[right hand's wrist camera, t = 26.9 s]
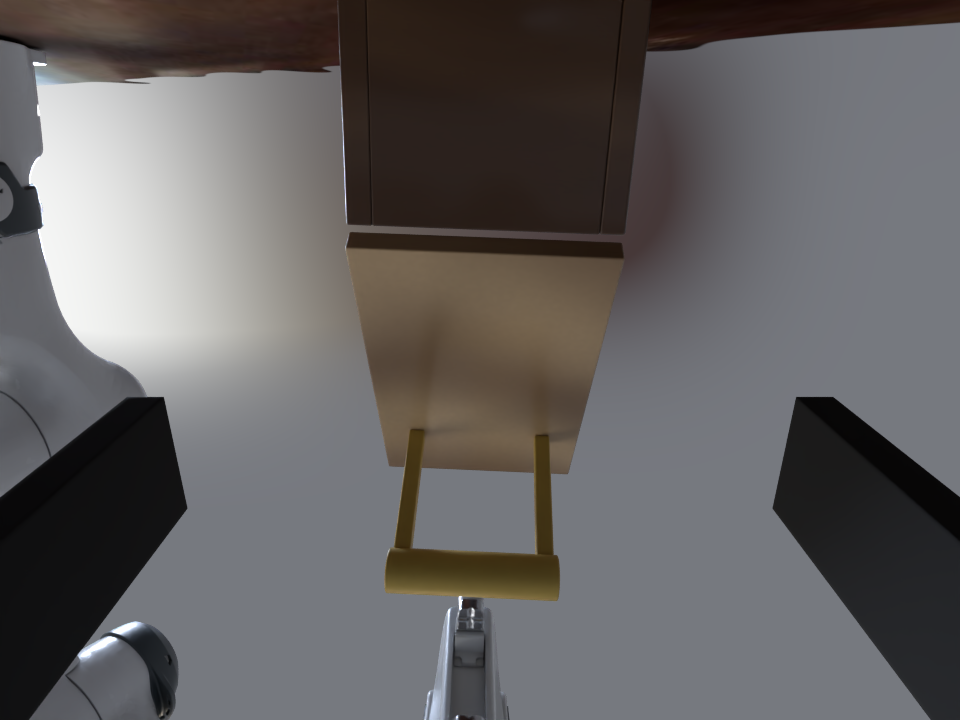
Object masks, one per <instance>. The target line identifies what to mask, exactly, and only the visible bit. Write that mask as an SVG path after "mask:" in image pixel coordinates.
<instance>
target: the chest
mask: <svg viewBox="0 0 960 720" xmlns="http://www.w3.org/2000/svg"><path fill="white" fill-rule="evenodd" d="M651 6H652V0H338V24H339V49H340V74H341V99H342V124H343V149H344V173H345V199H346V223H347V224H348V225H369V226H371V225H374V226H395V227H421V228H447V229H472V230H498V231H523V232H550V233H575V234H599V233H600V234H604V235H624V234H625V232H626V223H627V214H628V205H629V197H630V188H631V180H632V171H633V162H634V154H635V145H636V136H637V128H638V119H639V110H640V102H641V93H642V84H643V76H644V67H645V58H646V50H647V41H648V32H649V24H650V15H651Z"/></svg>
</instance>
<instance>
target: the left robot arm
mask: <svg viewBox="0 0 960 720" xmlns="http://www.w3.org/2000/svg"><path fill="white" fill-rule="evenodd" d="M34 65H46V52H42V51H38V50H33V49H29V48H27V47H26V46H24V45H21V44H17V43H13V42H9V41H4V40H0V497H1V496H2V495H4V494H5V493H6V492H7V491H9V490H10V489H11V488H12V487H14V486H15V485H16V484H17V483H19V482H20V481H21V480H23V479H24V478H25V477H26V476H28V475H29V474H30V473H31V472H33V471H34V470H35V469H36V468H38V467H39V466H40V465H42V464H43V463H44V462H45V461H47V460H48V459H49V458H50V457H52V456H53V455H54V454H55V453H57V452H58V451H59V450H60V449H62V448H63V447H64V446H66V445H67V444H68V443H69V442H71V441H72V440H73V439H74V438H76V437H77V436H78V435H79V434H81V433H82V432H83V431H85V430H86V429H87V428H88V427H90V426H91V425H92V424H93V423H95V422H96V421H97V420H98V419H100V418H101V417H102V416H104V415H105V414H106V413H107V412H109V411H110V410H111V409H112V408H114V407H115V406H116V405H117V404H119V403H120V402H121V401H122V400H124V399H125V398H126V397H147V395H146V393H145V391H144V389H143V387H142V385H141V384H140V383H139V381H138V380H137V379H136V378H135V377H134V376H133V375H132V374H131V373H130V372H128V371H127V370H126V369H124V368H123V367H121V366H119V365H117V364H115V363H113V362H110V361H107V360H105V359H103V358H100V357H98V356H97V355H95V354H94V353H92V352H91V351H90V350H88V349H87V348H86V347H85V346H84V345H83V344H82V343H81V342H80V341H79V340H78V339H77V337H76V336H75V335H74V334H73V332H72V331H71V329H70V328H69V326H68V325H67V323H66V321H65V319H64V318H63V316H62V313H61V311H60V309H59V306H58V303H57V300H56V297H55V293H54V290H53V287H52V283H51V279H50V276H49V272H48V268H47V264H46V260H45V256H44V251H43V247H42V242H41V238H40V233H39V229H41V227H42V226H43V218H42V212H43V209H42V204H41V203H40V201H39V196H38V191H37V187H36V186H35V185H33V184H31V183H30V176H31V172H32V168H33V166H34V164H35V162H36V161H37V160H38V159H39V158H40V156H41V155H42V152H43V143H42V133H41V123H40V113H39V105H38V96H37V87H36V79H35V70H34ZM177 685H178V661H177V657H176V654H175V651H174V649H173V647H172V646H171V644H170V642H169V641H168V640H167V638H166V637H165V636H164V635H163V634H162V633H161V632H160V631H159V630H158V629H156V628H155V627H153V626H151V625H148V624H145V623H141V622H131V623H128V624H125V625H122V626H120V627H118V628H115V629H113V630H111V631H109V632H107V633H105V634H104V635H103V636H102V637H101V638H100V640H98V641H96V642H94V643H93V644H91V645H89V646H87V647H86V648H84V649H82V650H81V651H80V653H79V654H78V655H77V657H76V658H75V659H74V661H73V662H72V663H71V665H70V666H69V667H68V669H67V670H66V671H65V673H64V674H63V675H62V677H61V678H60V679H59V681H58V682H57V683H56V685H55V686H54V687H53V689H52V690H51V691H50V693H49V694H48V695H47V697H46V698H45V699H44V701H43V702H42V703H41V705H40V706H39V707H38V709H37V710H36V711H35V713H34V714H33V715H32V717H31V718H30V719H29V720H168V719H169V718H170V716H171V715H172V713H173V711H174V709H175V692H176V689H177ZM423 720H509V713H508V706H507V701H506V695H505V693H504V692H501V691H500V682H499V672H498V660H497V647H496V635H495V625H494V618H493V614H492V612H491V610H490V609H488V608H486V607H484V598H480V597H459V598H458V606H456V607H451V608H450V609H449V610H448V612H447V614H446V617H445V622H444V627H443V633H442V639H441V646H440V653H439V660H438V667H437V673H436V680H435V686H434V690H430V691H429V692H428V695H427V704H426V705H425V711H424V717H423Z"/></svg>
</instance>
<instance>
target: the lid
mask: <svg viewBox="0 0 960 720" xmlns="http://www.w3.org/2000/svg"><path fill="white" fill-rule="evenodd" d="M345 249H346V254H347V260H348V264H349V269H350V274H351V279H352V284H353V289H354V294H355V299H356V304H357V309H358V314H359V319H360V324H361V329H362V334H363V339H364V344H365V349H366V354H367V359H368V364H369V369H370V374H371V379H372V384H373V389H374V394H375V399H376V404H377V409H378V414H379V418H380V424H381V428H382V433H383V438H384V443H385V448H386V453H387V458H388V463H389V466H395V467H405V468H404V476H403V483H402V491H401V498H400V505H399V513H398V520H397V528H396V535H395V543H394V548H390V549H389V551H388V554H387V559H386V566H385V591H386V593H396V594H417V595H439V596H459V597H480V598H501V599H523V600H544V601H557V600H558V597H559V588H560V568H559V559H558V556H557V555H554V553H553V525H552V498H551V473H552V474H568V472H569V469H570V465H571V461H572V457H573V453H574V450H575V446H576V442H577V438H578V434H579V431H580V427H581V423H582V419H583V415H584V412H585V408H586V404H587V400H588V396H589V392H590V389H591V385H592V381H593V377H594V374H595V370H596V366H597V362H598V358H599V354H600V351H601V347H602V343H603V339H604V336H605V332H606V328H607V324H608V320H609V317H610V313H611V309H612V305H613V301H614V298H615V294H616V290H617V286H618V282H619V279H620V275H621V271H622V267H623V263H624V260H625V258H624V252H623V246H622V243H614V242H588V241H563V240H538V239H512V238H486V237H461V236H436V235H410V234H385V233H359V232H350V233H349V236H348V240H347V243H346V247H345ZM421 468H439V469H462V470H484V471H507V472H529V473H534V499H535V500H534V501H535V554H520V553H499V552H477V551H456V550H434V549H413V548H412V546H413V538H414V529H415V520H416V512H417V503H418V494H419V486H420V477H421Z"/></svg>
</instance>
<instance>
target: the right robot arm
mask: <svg viewBox="0 0 960 720" xmlns="http://www.w3.org/2000/svg"><path fill="white" fill-rule="evenodd" d="M186 510H187V504H186V499H185V495H184V490H183V485H182V481H181V476H180V471H179V466H178V462H177V457H176V452H175V448H174V443H173V438H172V434H171V429H170V424H169V419H168V415H167V410H166V405H165V401H164V397H126V398H125V399H124V400H122V401H121V402H120V403H119V404H117V405H116V406H115V407H114V408H112V409H111V410H110V411H109V412H107V413H106V414H105V415H104V416H102V417H101V418H100V419H98V420H97V421H96V422H95V423H93V424H92V425H91V426H90V427H88V428H87V429H86V430H85V431H83V432H82V433H81V434H79V435H78V436H77V437H76V438H74V439H73V440H72V441H71V442H69V443H68V444H67V445H66V446H64V447H63V448H62V449H60V450H59V451H58V452H57V453H55V454H54V455H53V456H52V457H50V458H49V459H48V460H47V461H45V462H44V463H43V464H42V465H40V466H39V467H38V468H36V469H35V470H34V471H33V472H31V473H30V474H29V475H28V476H26V477H25V478H24V479H23V480H21V481H20V482H19V483H17V484H16V485H15V486H14V487H12V488H11V489H10V490H9V491H7V492H6V493H5V494H4V495H2V496H1V497H0V720H29V719H30V718H31V717H32V715H33V714H34V713H35V711H36V710H37V709H38V707H39V706H40V705H41V703H42V702H43V701H44V699H45V698H46V697H47V695H48V694H49V693H50V691H51V690H52V689H53V687H54V686H55V685H56V683H57V682H58V681H59V679H60V678H61V677H62V675H63V674H64V673H65V671H66V670H67V669H68V667H69V666H70V665H71V663H72V662H73V661H74V659H75V658H76V657H77V655H78V654H79V653H80V651H81V650H82V649H83V647H84V646H85V644H86V643H87V642H88V641H89V639H90V638H91V636H92V635H93V634H94V633H95V631H96V630H97V629H98V627H99V626H100V624H101V623H102V622H103V620H104V619H105V618H106V616H107V615H108V614H109V612H110V611H111V610H112V608H113V607H114V606H115V604H116V603H117V602H118V600H119V599H120V598H121V596H122V595H123V594H124V592H125V591H126V590H127V588H128V587H129V586H130V584H131V583H132V582H133V580H134V579H135V578H136V576H137V575H138V574H139V572H140V571H141V570H142V568H143V567H144V566H145V564H146V563H147V562H148V560H149V559H150V558H151V556H152V555H153V554H154V552H155V551H156V550H157V548H158V547H159V546H160V544H161V543H162V542H163V540H164V539H165V538H166V536H167V535H168V534H169V532H170V531H171V530H172V528H173V527H174V526H175V524H176V523H177V522H178V520H179V519H180V518H181V516H182V515H183V514H184V512H185V511H186ZM773 510H774V511H775V512H776V514H777V515H778V516H779V518H780V519H781V520H782V522H783V523H784V524H785V526H786V527H787V528H788V530H789V531H790V532H791V534H792V535H793V536H794V538H795V539H796V540H797V542H798V543H799V544H800V546H801V547H802V548H803V550H804V551H805V552H806V554H807V555H808V556H809V558H810V559H811V560H812V562H813V563H814V564H815V566H816V567H817V568H818V570H819V571H820V572H821V574H822V575H823V576H824V578H825V579H826V580H827V582H828V583H829V584H830V586H831V587H832V588H833V590H834V591H835V592H836V594H837V595H838V596H839V598H840V599H841V600H842V602H843V603H844V604H845V606H846V607H847V608H848V610H849V611H850V612H851V614H852V615H853V616H854V618H855V619H856V620H857V622H858V623H859V624H860V626H861V627H862V629H863V630H864V631H865V632H866V634H867V635H868V637H869V638H870V639H871V641H872V642H873V643H874V644H875V646H876V647H877V649H878V650H879V651H880V653H881V654H882V655H883V657H884V658H885V659H886V661H887V662H888V663H889V665H890V666H891V667H892V668H893V670H894V671H895V672H896V674H897V675H898V677H899V678H900V679H901V681H902V682H903V683H904V685H905V686H906V687H907V689H908V690H909V691H910V693H911V694H912V695H913V697H914V698H915V699H916V701H917V702H918V703H919V705H920V706H921V707H922V709H923V710H924V711H925V713H926V714H927V715H928V717H929V718H930V719H931V720H960V497H959V496H958V495H956V494H955V493H954V492H953V491H951V490H950V489H949V488H948V487H946V486H945V485H944V484H943V483H941V482H940V481H939V480H937V479H936V478H935V477H934V476H932V475H931V474H930V473H929V472H927V471H926V470H925V469H924V468H922V467H921V466H920V465H918V464H917V463H916V462H915V461H913V460H912V459H911V458H910V457H908V456H907V455H906V454H905V453H903V452H902V451H901V450H900V449H898V448H897V447H896V446H894V445H893V444H892V443H891V442H889V441H888V440H887V439H886V438H884V437H883V436H882V435H881V434H879V433H878V432H877V431H875V430H874V429H873V428H872V427H870V426H869V425H868V424H867V423H865V422H864V421H863V420H861V419H860V418H859V417H858V416H856V415H855V414H854V413H853V412H851V411H850V410H849V409H848V408H846V407H845V406H844V405H843V404H841V403H840V402H839V401H838V400H836V399H835V398H834V397H796V401H795V405H794V410H793V415H792V419H791V424H790V429H789V433H788V438H787V443H786V448H785V452H784V457H783V462H782V466H781V471H780V476H779V481H778V485H777V490H776V495H775V499H774V504H773Z"/></svg>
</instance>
